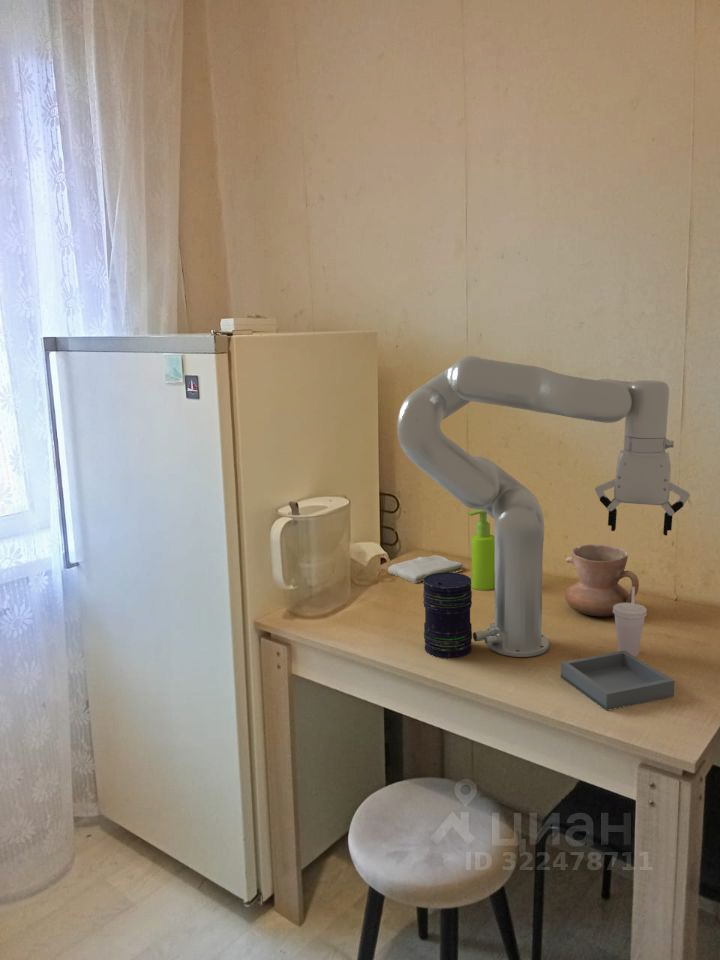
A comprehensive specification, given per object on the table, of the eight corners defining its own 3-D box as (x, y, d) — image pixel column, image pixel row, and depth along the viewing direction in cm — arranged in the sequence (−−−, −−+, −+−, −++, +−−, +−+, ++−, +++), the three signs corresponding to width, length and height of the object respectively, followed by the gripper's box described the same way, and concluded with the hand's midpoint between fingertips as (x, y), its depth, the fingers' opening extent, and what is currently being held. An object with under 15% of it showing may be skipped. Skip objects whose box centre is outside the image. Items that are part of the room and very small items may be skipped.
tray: (606, 710, 133) (606, 694, 133) (560, 677, 146) (561, 662, 146) (673, 696, 137) (674, 680, 137) (623, 664, 150) (624, 650, 150)
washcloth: (465, 571, 212) (465, 560, 211) (415, 586, 201) (415, 574, 201) (436, 562, 221) (436, 551, 221) (387, 575, 211) (386, 564, 210)
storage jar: (441, 635, 167) (440, 569, 165) (481, 646, 161) (481, 577, 158) (414, 651, 160) (413, 582, 157) (455, 663, 154) (454, 591, 151)
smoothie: (649, 660, 152) (652, 592, 149) (616, 661, 152) (619, 592, 150) (638, 647, 158) (641, 581, 156) (607, 647, 159) (609, 582, 156)
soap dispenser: (464, 585, 199) (463, 509, 196) (488, 581, 201) (488, 506, 198) (474, 592, 194) (473, 514, 190) (499, 588, 196) (499, 511, 192)
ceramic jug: (547, 609, 181) (549, 550, 178) (583, 593, 190) (585, 537, 187) (617, 631, 168) (620, 568, 164) (652, 613, 177) (655, 553, 174)
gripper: (692, 444, 150) (686, 530, 153) (599, 440, 156) (594, 523, 159) (693, 450, 143) (687, 540, 146) (596, 446, 149) (591, 532, 152)
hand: (639, 531), depth 153 cm, fingers open, 9 cm apart
